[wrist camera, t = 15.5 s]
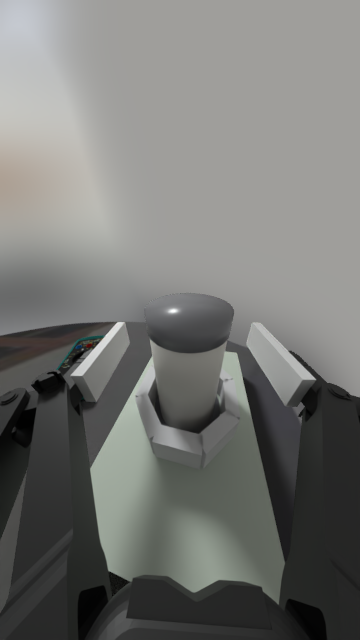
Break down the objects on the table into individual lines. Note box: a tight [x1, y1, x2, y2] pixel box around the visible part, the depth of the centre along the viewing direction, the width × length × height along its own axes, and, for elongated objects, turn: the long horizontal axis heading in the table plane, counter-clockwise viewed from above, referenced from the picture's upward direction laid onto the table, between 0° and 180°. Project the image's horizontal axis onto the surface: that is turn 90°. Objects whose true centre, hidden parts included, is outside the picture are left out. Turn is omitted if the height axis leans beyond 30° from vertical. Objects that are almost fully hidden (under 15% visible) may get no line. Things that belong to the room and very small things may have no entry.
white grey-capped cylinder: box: [144, 293, 234, 433], centre depth 13 cm, size 6×6×12 cm
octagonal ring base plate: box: [90, 352, 285, 605], centre depth 16 cm, size 14×20×7 cm
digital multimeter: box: [56, 336, 105, 400], centre depth 26 cm, size 7×15×3 cm, turn 13°
